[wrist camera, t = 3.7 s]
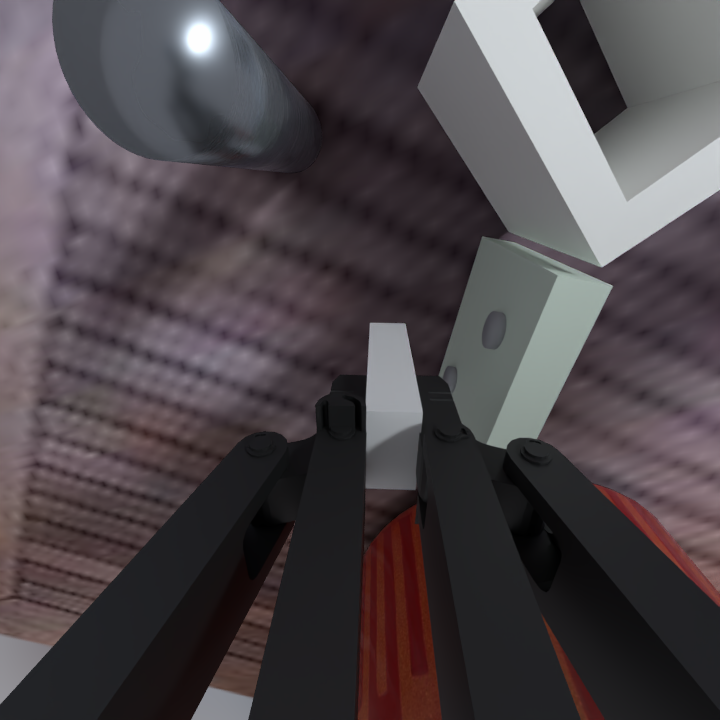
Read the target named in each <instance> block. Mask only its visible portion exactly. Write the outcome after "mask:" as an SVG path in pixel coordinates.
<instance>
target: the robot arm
mask: <svg viewBox="0 0 720 720" xmlns="http://www.w3.org/2000/svg"><path fill="white" fill-rule="evenodd" d="M315 407H316V423H317V433H316V434H315V435H314V436H312V437H310V438H307V439H305V440H301V441H297V442H291V443H287V440H286V439H285V438H284V437H283V436H282V435H281V434H278V433H275V432H266V431H264V432H259V433H254V434H252V435H249V436H247V437H245V438H244V439H243V440H241V441H240V442H239V443H238V444H237V445H236V446H235V447H234V448H233V449H232V450H231V451H230V453H229V454H228V455H227V456H226V457H225V458H224V459H223V460H222V461H221V462H220V464H219V465H218V466H217V467H216V468H215V469H214V470H213V471H212V472H211V473H210V475H209V476H208V477H207V478H206V479H205V480H204V481H203V482H202V483H201V484H200V486H199V487H198V488H197V489H196V490H195V491H194V492H193V493H192V494H191V495H190V497H189V498H188V499H187V500H186V501H185V502H184V503H183V504H182V505H181V506H180V508H179V509H178V510H177V511H176V512H175V513H174V514H173V515H172V516H171V517H170V519H169V520H168V521H167V522H166V523H165V524H164V525H163V526H162V527H161V528H160V530H159V531H158V532H157V533H156V534H155V535H154V536H153V537H152V538H151V539H150V541H149V542H148V543H147V544H146V545H145V546H144V547H143V548H142V549H141V550H140V552H139V553H138V554H137V555H136V556H135V557H134V558H133V559H132V560H131V561H130V563H129V564H128V565H127V566H126V567H125V568H124V569H123V570H122V571H121V572H120V574H119V575H118V576H117V577H116V578H115V579H114V580H113V581H112V582H111V583H110V585H109V586H108V587H107V588H106V589H105V590H104V591H103V592H102V593H101V594H100V596H99V597H98V598H97V599H96V600H95V601H94V602H93V603H92V604H91V605H90V607H89V608H88V609H87V610H86V611H85V612H84V613H83V614H82V615H81V616H80V618H79V619H78V620H77V621H76V622H75V623H74V624H73V625H72V626H71V627H70V629H69V630H68V631H67V632H66V633H65V634H64V635H63V636H62V637H61V638H60V640H59V641H58V642H57V643H56V644H55V645H54V646H53V647H52V648H51V649H50V651H49V652H48V653H47V654H46V655H45V656H44V657H43V658H42V659H41V660H40V662H39V663H38V664H37V665H36V666H35V667H34V668H33V669H32V670H31V671H30V673H29V674H28V675H27V676H26V677H25V678H24V679H23V680H22V681H21V683H20V684H19V685H18V686H17V687H16V688H15V689H14V690H13V691H12V692H11V693H10V695H9V696H8V697H7V698H6V699H5V700H4V701H3V702H2V703H1V704H0V720H191V719H192V717H193V715H194V713H195V711H196V709H197V707H198V705H199V703H200V702H201V700H202V698H203V696H204V694H205V692H206V690H207V688H208V686H209V685H210V683H211V681H212V679H213V677H214V675H215V673H216V671H217V669H218V668H219V666H220V664H221V662H222V660H223V658H224V656H225V654H226V652H227V651H228V649H229V647H230V645H231V643H232V641H233V639H234V637H235V636H236V634H237V632H238V630H239V628H240V626H241V624H242V622H243V620H244V619H245V617H246V615H247V613H248V611H249V609H250V607H251V605H252V603H253V602H254V600H255V598H256V596H257V594H258V592H259V590H260V588H261V586H262V585H263V583H264V581H265V579H266V577H267V575H268V573H269V571H270V569H271V568H272V566H273V564H274V562H275V560H276V558H277V556H278V554H279V552H280V551H281V549H282V547H283V545H284V543H285V541H286V539H287V537H288V535H289V534H290V532H291V530H292V528H293V526H294V523H295V526H294V530H293V534H292V538H291V542H290V547H289V551H288V555H287V559H286V563H285V568H284V572H283V576H282V580H281V585H280V589H279V593H278V597H277V601H276V606H275V610H274V614H273V618H272V622H271V627H270V631H269V635H268V639H267V643H266V648H265V652H264V656H263V660H262V664H261V669H260V673H259V677H258V681H257V685H256V690H255V694H254V698H253V702H252V707H251V711H250V715H249V719H248V720H358V698H359V669H360V640H361V611H362V582H363V553H364V524H365V488H368V489H397V490H416V480H417V486H418V497H417V507H416V517H415V524H419V529H420V537H421V546H422V554H423V563H424V571H425V580H426V588H427V597H428V605H429V614H430V622H431V631H432V639H433V648H434V656H435V665H436V673H437V682H438V691H439V699H440V708H441V716H442V720H581V719H580V716H579V713H578V711H577V708H576V705H575V703H574V700H573V697H572V695H571V692H570V689H569V687H568V684H567V681H566V679H565V676H564V673H563V671H562V668H561V665H560V663H559V660H558V657H557V655H556V652H555V649H554V647H553V644H552V641H551V639H550V636H549V633H548V631H547V628H546V625H545V623H544V620H543V617H544V619H545V621H546V622H547V624H548V626H549V627H550V629H551V631H552V632H553V634H554V636H555V637H556V639H557V640H558V642H559V644H560V645H561V647H562V649H563V650H564V652H565V654H566V655H567V657H568V659H569V660H570V662H571V664H572V665H573V667H574V669H575V670H576V672H577V674H578V675H579V677H580V679H581V680H582V682H583V684H584V685H585V687H586V689H587V690H588V692H589V694H590V695H591V697H592V699H593V700H594V702H595V704H596V705H597V707H598V709H599V710H600V712H601V714H602V715H603V717H604V719H605V720H720V607H719V606H718V605H717V604H716V603H715V602H714V601H713V600H712V599H711V598H710V597H709V596H708V595H707V594H705V593H704V592H703V591H702V590H701V589H700V588H699V587H698V586H697V585H696V584H695V583H694V582H693V581H692V580H691V579H690V578H689V577H688V576H687V575H686V574H685V573H684V572H683V571H682V570H681V569H680V568H679V567H678V566H677V565H676V564H675V563H674V562H673V561H672V560H671V559H669V558H668V557H667V556H666V555H665V554H664V553H663V552H662V551H661V550H660V549H659V548H658V547H657V546H656V545H655V544H654V543H653V542H652V541H651V540H650V539H649V538H648V537H647V536H646V535H645V534H644V533H643V532H642V531H641V530H640V529H639V528H638V527H637V526H636V525H635V524H633V523H632V522H631V521H630V520H629V519H628V518H627V517H626V516H625V515H624V514H623V513H622V512H621V511H620V510H619V509H618V508H617V507H616V506H615V505H614V504H613V503H612V502H611V501H610V500H609V499H608V498H607V497H606V496H605V495H604V494H603V493H602V492H601V491H600V490H598V489H597V488H596V487H595V486H594V485H593V484H592V483H591V482H590V481H589V480H588V479H587V478H586V477H585V476H584V475H583V474H582V473H581V472H580V471H579V470H578V469H577V468H576V467H575V466H574V465H573V464H572V463H571V462H570V461H569V460H568V459H567V458H566V457H565V456H564V455H562V454H561V453H560V452H559V451H558V450H557V449H555V448H554V447H553V446H551V445H550V444H548V443H545V442H543V441H541V440H537V439H533V438H517V439H514V440H511V441H510V442H509V444H508V445H507V448H506V449H503V448H499V447H494V446H490V445H487V444H484V443H481V442H479V441H477V440H476V439H475V436H474V434H473V433H472V431H471V430H470V429H469V428H468V427H466V426H465V425H463V424H462V423H461V420H460V417H459V414H458V411H457V408H456V406H455V403H454V401H453V397H452V394H451V391H450V388H449V385H448V383H447V382H445V381H444V380H443V379H442V378H441V377H440V376H416V375H415V370H414V364H413V359H412V354H411V349H410V344H409V339H408V334H407V329H406V324H405V323H370V331H369V350H368V368H367V375H339V376H338V377H337V378H336V379H335V380H334V381H333V383H332V387H331V392H330V394H329V395H326V396H324V397H322V398H321V399H319V400H318V402H317V403H316V405H315ZM295 520H296V521H295ZM541 614H542V615H541ZM542 616H543V617H542Z"/></svg>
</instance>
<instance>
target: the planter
mask: <svg viewBox="0 0 720 720" xmlns="http://www.w3.org/2000/svg"><path fill="white" fill-rule="evenodd" d="M592 484H593V485H594V486H595V487H596V488H597V489H598V490H600V491H601V492H602V493H603V494H604V495H605V496H606V497H607V498H608V499H609V500H610V501H611V502H612V503H613V504H614V505H615V506H616V507H617V508H618V509H619V510H620V511H621V512H622V513H623V514H624V515H625V516H626V517H627V518H628V519H629V520H630V521H631V522H632V523H633V524H635V525H636V526H637V527H638V528H639V529H640V530H641V531H642V532H643V533H644V534H645V535H646V536H647V537H648V538H649V539H650V540H651V541H652V542H653V543H654V544H655V545H656V546H657V547H658V548H659V549H660V550H661V551H662V552H663V553H664V554H665V555H666V556H667V557H668V558H669V559H671V560H672V561H673V562H674V563H675V564H676V565H677V566H678V567H679V568H680V569H681V570H682V571H683V572H684V573H685V574H686V575H687V576H688V577H689V578H690V579H691V580H692V581H693V582H694V583H695V584H696V585H697V586H698V587H699V588H700V589H701V590H702V591H703V592H704V593H705V594H707V595H708V596H709V597H710V598H711V599H712V600H713V601H714V602H715V603H716V604H717V605H718V606H719V607H720V594H719V593H718V591H717V590H716V589H715V588H714V587H713V585H712V584H711V583H710V582H709V581H708V579H707V578H706V577H705V576H704V575H703V573H702V572H701V571H700V570H699V569H698V567H697V566H696V565H695V564H694V563H693V561H692V560H691V559H690V558H689V557H688V555H687V554H686V553H685V552H684V551H683V549H682V548H681V547H680V546H679V545H678V543H677V542H676V541H675V540H674V539H673V537H672V536H671V535H670V534H669V533H668V531H667V530H666V529H665V528H664V527H663V525H662V524H661V523H660V522H659V521H658V520H657V518H656V517H655V516H654V515H653V514H652V513H650V512H649V511H648V510H646V509H645V508H644V507H642V506H641V505H640V504H638V503H637V502H636V501H634V500H632V499H630V498H628V497H626V496H624V495H622V494H620V493H618V492H616V491H614V490H612V489H610V488H607V487H603V486H600V485H597V484H594V483H592ZM416 507H417V503H416V504H415V505H413V506H411V507H410V508H408V509H407V510H405V511H403V512H402V513H400V514H399V515H398V516H397V517H396V518H394V519H393V520H392V521H391V522H390V523H388V524H387V525H386V526H385V527H384V528H383V529H382V530H381V531H380V533H379V534H378V535H377V536H376V537H375V538H374V540H373V541H372V542H371V544H370V545H369V547H368V549H367V551H366V553H365V555H364V556H363V582H362V611H361V640H360V669H359V698H358V720H442V716H441V708H440V699H439V691H438V682H437V673H436V665H435V656H434V648H433V639H432V631H431V622H430V614H429V605H428V597H427V588H426V580H425V571H424V563H423V554H422V546H421V537H420V529H419V524H415V517H416ZM541 615H542V614H541ZM542 617H543V616H542ZM543 620H544V623H545V625H546V628H547V631H548V633H549V636H550V639H551V641H552V644H553V647H554V649H555V652H556V655H557V657H558V660H559V663H560V665H561V668H562V671H563V673H564V676H565V679H566V681H567V684H568V687H569V689H570V692H571V695H572V697H573V700H574V703H575V705H576V708H577V711H578V713H579V716H580V719H581V720H605V719H604V717H603V715H602V714H601V712H600V710H599V709H598V707H597V705H596V704H595V702H594V700H593V699H592V697H591V695H590V694H589V692H588V690H587V689H586V687H585V685H584V684H583V682H582V680H581V679H580V677H579V675H578V674H577V672H576V670H575V669H574V667H573V665H572V664H571V662H570V660H569V659H568V657H567V655H566V654H565V652H564V650H563V649H562V647H561V645H560V644H559V642H558V640H557V639H556V637H555V636H554V634H553V632H552V631H551V629H550V627H549V626H548V624H547V622H546V621H545V619H544V617H543Z"/></svg>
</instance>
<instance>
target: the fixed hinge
mask: <svg viewBox="0 0 720 720" xmlns="http://www.w3.org/2000/svg"><path fill="white" fill-rule="evenodd" d="M554 1H555V0H455V1H454V3H453V5H452V7H451V10H450V12H449V14H448V17H447V19H446V21H445V24H444V26H443V28H442V31H441V33H440V35H439V38H438V40H437V42H436V45H435V47H434V49H433V52H432V54H431V56H430V59H429V61H428V63H427V66H426V68H425V70H424V73H423V75H422V77H421V80H420V82H419V84H418V87H417V88H418V89H419V91H420V93H421V94H422V96H423V97H424V99H425V101H426V102H427V104H428V105H429V107H430V108H431V110H432V112H433V113H434V115H435V116H436V118H437V119H438V121H439V123H440V124H441V126H442V127H443V129H444V131H445V132H446V134H447V135H448V137H449V138H450V140H451V142H452V143H453V145H454V146H455V148H456V150H457V151H458V153H459V154H460V156H461V157H462V159H463V161H464V162H465V164H466V165H467V167H468V168H469V170H470V172H471V173H472V175H473V176H474V178H475V180H476V181H477V183H478V184H479V186H480V187H481V189H482V191H483V192H484V194H485V195H486V197H487V199H488V200H489V202H490V203H491V205H492V206H493V208H494V210H495V211H496V213H497V214H498V216H499V217H500V219H501V221H502V222H503V224H504V225H505V227H506V229H507V230H508V232H510V233H513V234H515V235H518V236H521V237H523V238H526V239H528V240H531V241H534V242H536V243H539V244H541V245H544V246H547V247H549V248H552V249H555V250H557V251H560V252H562V253H565V254H568V255H570V256H573V257H575V258H578V259H581V260H583V261H586V262H589V263H591V264H594V265H596V266H599V267H603V266H605V265H606V264H608V263H609V262H611V261H613V260H614V259H616V258H617V257H619V256H620V255H622V254H623V253H625V252H626V251H628V250H629V249H631V248H632V247H634V246H635V245H637V244H638V243H640V242H641V241H643V240H644V239H646V238H647V237H649V236H650V235H652V234H653V233H655V232H657V231H658V230H660V229H661V228H663V227H664V226H666V225H667V224H669V223H670V222H672V221H673V220H675V219H676V218H678V217H679V216H681V215H682V214H684V213H685V212H687V211H688V210H690V209H691V208H693V207H694V206H696V205H698V204H699V203H701V202H702V201H704V200H705V199H707V198H708V197H710V196H711V195H713V194H714V193H716V192H717V191H719V190H720V0H580V2H581V5H582V7H583V9H584V11H585V14H586V16H587V18H588V20H589V23H590V25H591V27H592V29H593V32H594V34H595V36H596V38H597V41H598V43H599V45H600V47H601V50H602V52H603V54H604V56H605V59H606V61H607V63H608V65H609V68H610V70H611V72H612V74H613V77H614V79H615V81H616V83H617V86H618V88H619V90H620V92H621V95H622V97H623V99H624V101H625V104H626V106H627V109H625V110H624V111H623V112H622V113H620V114H619V115H618V116H616V117H615V118H614V119H613V120H611V121H610V122H609V123H608V124H606V125H605V126H604V127H602V128H601V129H600V130H599V131H597V132H596V133H595V134H593V132H592V130H591V128H590V126H589V124H588V121H587V119H586V117H585V115H584V113H583V111H582V109H581V107H580V105H579V103H578V101H577V99H576V97H575V95H574V93H573V91H572V89H571V87H570V85H569V83H568V81H567V79H566V77H565V74H564V72H563V70H562V68H561V66H560V64H559V62H558V60H557V58H556V56H555V54H554V52H553V50H552V48H551V46H550V44H549V42H548V40H547V38H546V36H545V34H544V32H543V30H542V27H541V25H540V23H539V21H538V19H537V17H538V16H539V15H540V14H541V13H542V12H543V11H544V10H545V9H546V8H548V7H549V6H550V5H551V4H552V3H553V2H554Z"/></svg>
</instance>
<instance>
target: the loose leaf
mask: <svg viewBox="0 0 720 720" xmlns="http://www.w3.org/2000/svg"><path fill="white" fill-rule="evenodd" d="M612 287H613V286H612V285H610V284H608V283H605V282H603V281H601V280H599V279H596V278H594V277H592V276H589V275H587V274H585V273H583V272H580V271H578V270H576V269H574V268H571V267H569V266H567V265H565V264H562V263H560V262H558V261H556V260H553V259H551V258H549V257H546V256H544V255H542V254H540V253H537V252H535V251H533V250H531V249H528V248H526V247H524V246H522V245H519V244H517V243H515V242H510V241H504V240H499V239H494V238H489V237H484V236H482V239H481V242H480V245H479V248H478V251H477V255H476V258H475V261H474V264H473V267H472V271H471V274H470V277H469V280H468V283H467V287H466V290H465V293H464V296H463V299H462V302H461V306H460V309H459V312H458V315H457V318H456V322H455V325H454V328H453V331H452V334H451V338H450V341H449V344H448V347H447V350H446V354H445V357H444V360H443V363H442V366H441V370H440V373H439V376H440V377H441V378H442V379H443V380H444V381H445V382H447V383H448V385H449V388H450V391H451V394H452V397H453V401H454V403H455V406H456V408H457V411H458V414H459V417H460V420H461V423H462V424H463V425H465V426H466V427H468V428H469V429H470V430H471V431H472V433H473V434H474V436H475V439H476V440H477V441H479V442H481V443H484V444H487V445H490V446H494V447H499V448H503V449H506V448H507V445H508V444H509V442H510V441H511V440H514V439H517V438H533V439H537V438H538V436H539V434H540V432H541V430H542V428H543V426H544V424H545V422H546V420H547V418H548V415H549V413H550V411H551V409H552V407H553V405H554V403H555V401H556V399H557V397H558V395H559V393H560V391H561V389H562V387H563V385H564V383H565V381H566V379H567V377H568V375H569V373H570V371H571V369H572V367H573V365H574V363H575V361H576V359H577V357H578V355H579V353H580V351H581V349H582V347H583V345H584V343H585V341H586V339H587V337H588V335H589V333H590V331H591V329H592V327H593V325H594V323H595V321H596V319H597V317H598V315H599V313H600V311H601V309H602V307H603V305H604V303H605V301H606V299H607V297H608V295H609V293H610V291H611V289H612Z"/></svg>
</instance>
